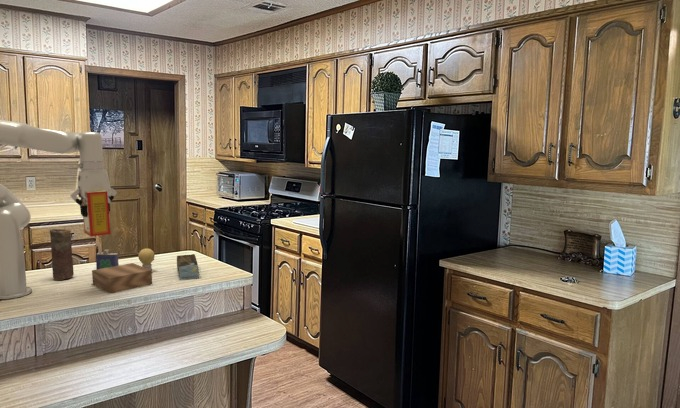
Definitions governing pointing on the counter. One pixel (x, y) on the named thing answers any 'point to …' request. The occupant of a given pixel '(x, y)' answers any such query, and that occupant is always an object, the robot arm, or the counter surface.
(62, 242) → the candle
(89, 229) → the baking soda box
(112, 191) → the robot arm
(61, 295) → the counter surface
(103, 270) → the walnut riser block
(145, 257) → the light bulb
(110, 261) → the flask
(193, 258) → the grey rectangular block
